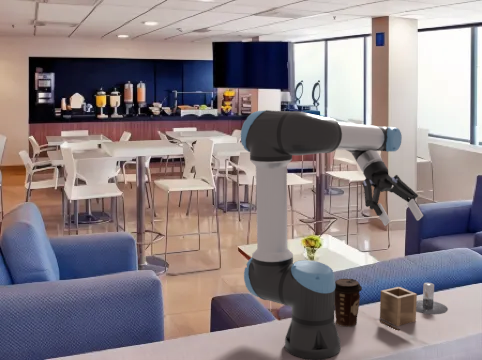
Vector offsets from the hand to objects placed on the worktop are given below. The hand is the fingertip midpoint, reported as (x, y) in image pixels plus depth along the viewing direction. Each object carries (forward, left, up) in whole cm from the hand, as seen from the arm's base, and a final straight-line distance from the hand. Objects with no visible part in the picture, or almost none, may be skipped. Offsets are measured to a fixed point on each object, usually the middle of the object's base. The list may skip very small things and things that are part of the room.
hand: (404, 220), depth 185 cm
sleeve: (+3, -10, -30) cm, 31 cm away
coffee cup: (-10, -18, -30) cm, 36 cm away
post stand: (+7, +5, -30) cm, 31 cm away
